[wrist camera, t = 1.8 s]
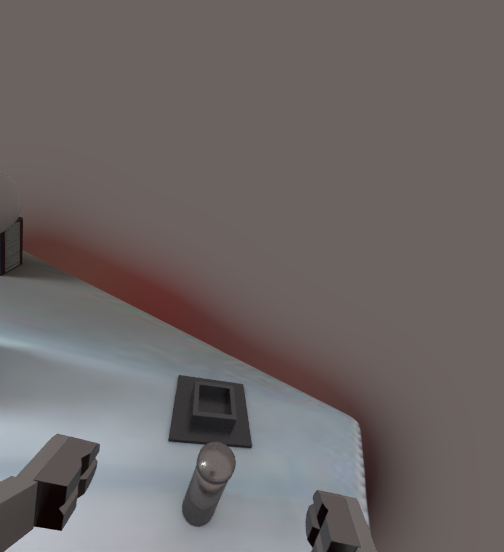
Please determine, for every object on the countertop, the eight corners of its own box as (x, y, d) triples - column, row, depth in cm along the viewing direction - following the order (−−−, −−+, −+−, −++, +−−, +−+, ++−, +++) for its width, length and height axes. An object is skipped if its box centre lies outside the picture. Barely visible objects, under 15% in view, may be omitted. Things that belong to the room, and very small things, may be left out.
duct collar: (168, 441, 49) (171, 429, 48) (178, 377, 63) (181, 367, 62) (250, 448, 52) (255, 437, 51) (242, 386, 67) (245, 377, 66)
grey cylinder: (178, 528, 38) (197, 478, 34) (182, 486, 43) (199, 439, 39) (215, 528, 39) (237, 481, 35) (215, 487, 44) (234, 442, 40)
